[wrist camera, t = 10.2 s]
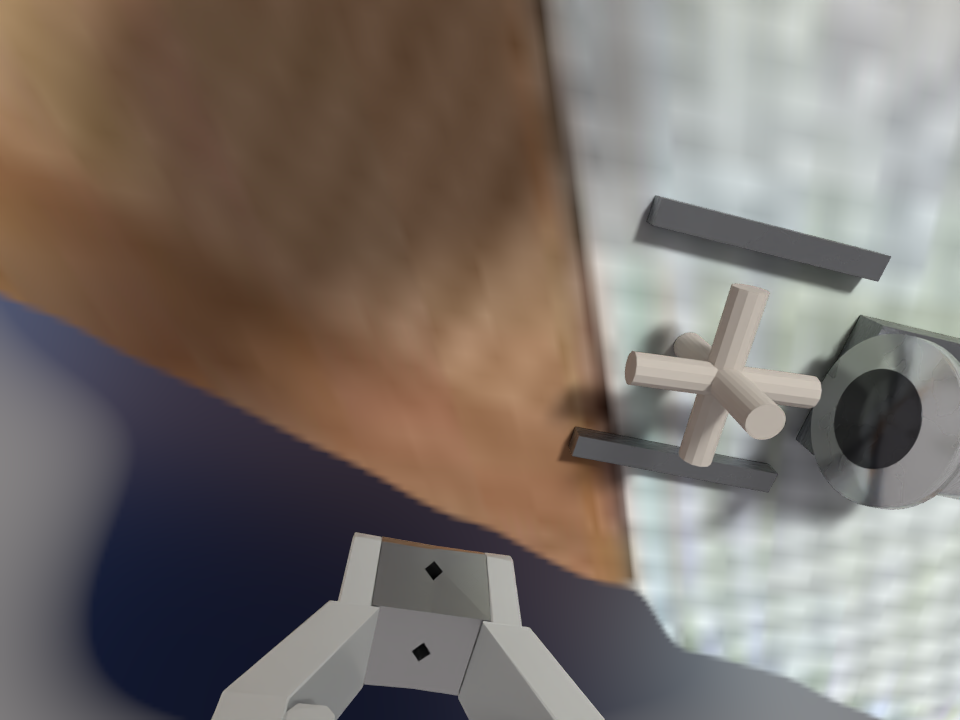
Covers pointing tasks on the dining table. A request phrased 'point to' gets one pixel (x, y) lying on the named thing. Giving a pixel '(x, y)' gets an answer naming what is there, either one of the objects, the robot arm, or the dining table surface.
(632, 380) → the pipe connector
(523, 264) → the dining table surface
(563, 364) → the dining table surface
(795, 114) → the dining table surface
